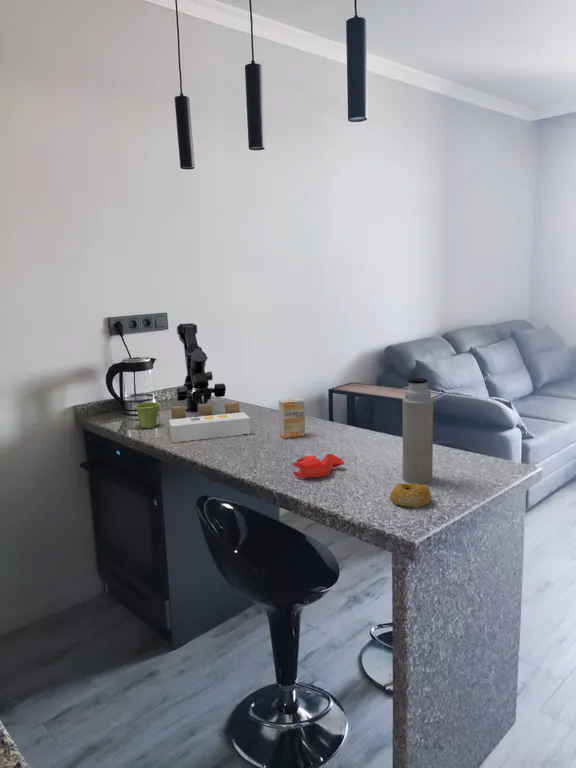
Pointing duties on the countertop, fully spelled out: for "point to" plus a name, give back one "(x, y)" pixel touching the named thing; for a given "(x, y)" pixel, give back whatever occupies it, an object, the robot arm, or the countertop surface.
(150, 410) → the plant pot
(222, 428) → the key console
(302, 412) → the supplement box
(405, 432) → the thermos bottle
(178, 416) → the key
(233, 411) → the key
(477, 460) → the countertop surface
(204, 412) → the key middle
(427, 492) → the bagel
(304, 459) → the animal figurine
